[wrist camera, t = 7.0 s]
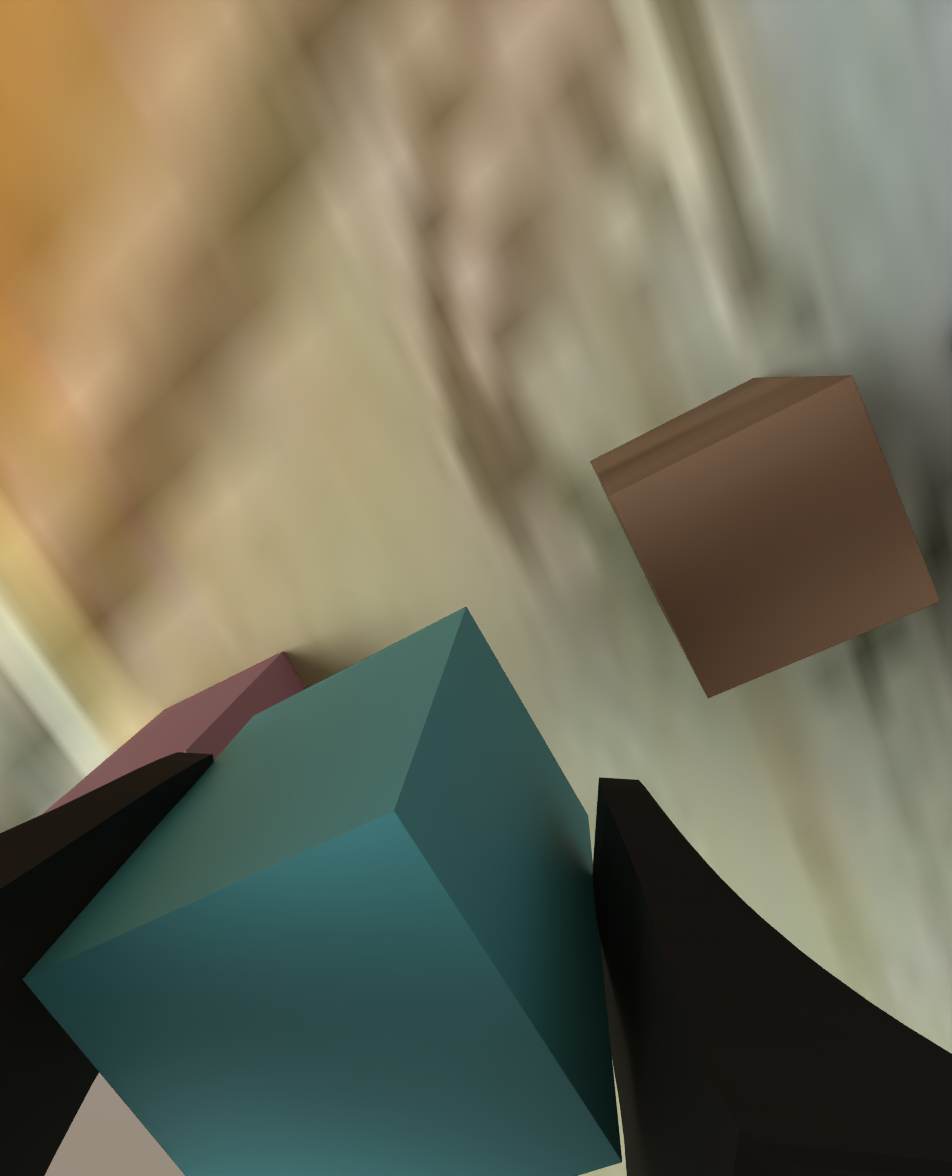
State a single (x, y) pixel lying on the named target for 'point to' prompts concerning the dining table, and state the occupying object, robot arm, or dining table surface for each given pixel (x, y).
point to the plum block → (198, 722)
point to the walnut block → (767, 526)
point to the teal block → (359, 941)
